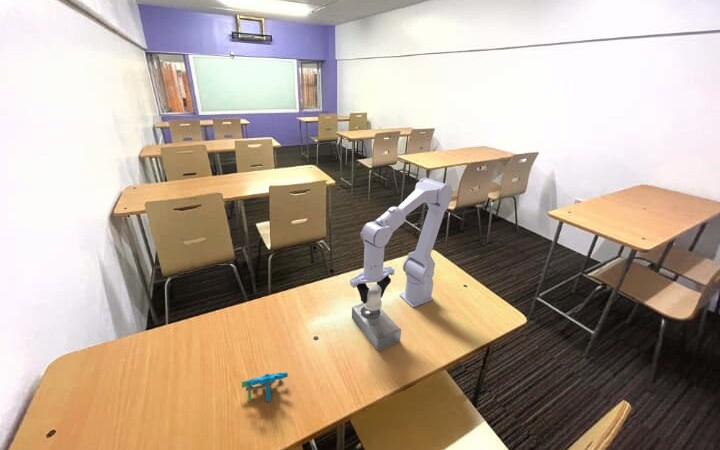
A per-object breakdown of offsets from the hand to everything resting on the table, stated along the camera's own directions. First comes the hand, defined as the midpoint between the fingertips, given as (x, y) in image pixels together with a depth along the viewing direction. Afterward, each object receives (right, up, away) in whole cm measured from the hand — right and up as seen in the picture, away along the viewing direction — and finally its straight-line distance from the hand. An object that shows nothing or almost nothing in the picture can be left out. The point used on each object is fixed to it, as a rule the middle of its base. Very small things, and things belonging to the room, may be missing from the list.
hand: (371, 298), depth 94 cm
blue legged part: (-27, -19, -17) cm, 37 cm away
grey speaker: (+1, -10, +2) cm, 10 cm away
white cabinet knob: (0, -2, +1) cm, 2 cm away
